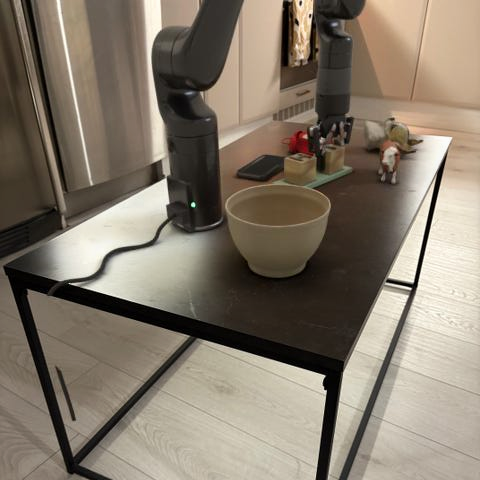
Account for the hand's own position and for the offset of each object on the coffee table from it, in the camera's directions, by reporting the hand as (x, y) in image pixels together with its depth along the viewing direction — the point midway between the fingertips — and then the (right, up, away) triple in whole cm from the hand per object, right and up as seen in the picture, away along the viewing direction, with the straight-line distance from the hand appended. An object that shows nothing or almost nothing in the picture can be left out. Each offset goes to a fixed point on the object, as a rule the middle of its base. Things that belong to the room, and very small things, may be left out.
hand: (328, 166), depth 118 cm
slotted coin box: (0, 0, 0) cm, 1 cm away
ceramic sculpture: (+18, +8, +13) cm, 24 cm away
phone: (-15, +1, +5) cm, 15 cm away
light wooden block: (-7, -5, -5) cm, 10 cm away
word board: (-4, -3, -2) cm, 5 cm away
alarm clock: (-2, +9, +16) cm, 19 cm away
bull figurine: (+13, -4, -3) cm, 14 cm away
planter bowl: (-14, -27, -34) cm, 46 cm away
